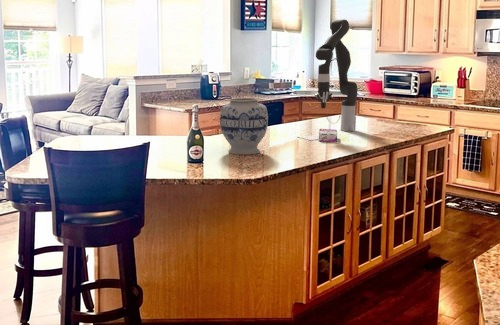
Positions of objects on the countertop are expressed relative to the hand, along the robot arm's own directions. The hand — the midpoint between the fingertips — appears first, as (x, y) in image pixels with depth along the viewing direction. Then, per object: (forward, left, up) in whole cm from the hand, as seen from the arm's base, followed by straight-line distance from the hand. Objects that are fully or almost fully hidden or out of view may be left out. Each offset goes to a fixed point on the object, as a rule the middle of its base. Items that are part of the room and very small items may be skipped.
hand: (323, 108), depth 401 cm
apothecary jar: (+69, +17, -19) cm, 74 cm away
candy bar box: (-3, +2, -16) cm, 16 cm away
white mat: (+6, -1, -19) cm, 20 cm away
